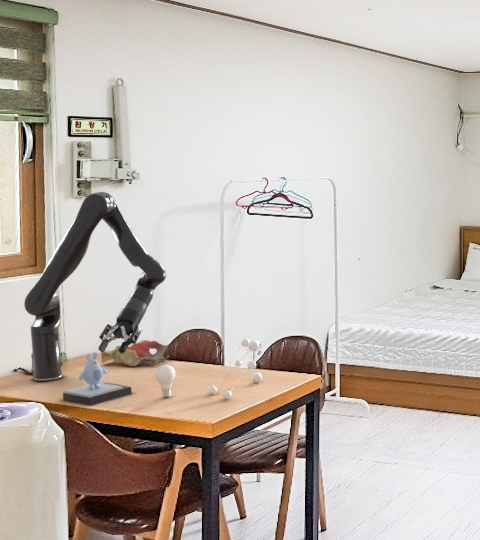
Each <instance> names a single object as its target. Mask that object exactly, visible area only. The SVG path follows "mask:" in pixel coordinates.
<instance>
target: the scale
mask: <svg viewBox="0 0 480 540" xmlns="http://www.w3.org/2000/svg"><path fill="white" fill-rule="evenodd" d="M97 384H99V385H100V388H95V389H92V390H90V389H89V388H88V387H89V386H90V384H85V385H82V386H77V387H73V388H69V389H65V390H63V393H62V399H63V401H66V402H72V403H78V404H83V405H88V406H92V405H95V404H100V403H103V402H106V401H109V400H113V399H114V400H115V399H119V398H121V397H125V396H128V395H132V393H133V392H132V386H128V385H122V384H117V383H112V382H111V383H109V382H99V383H97ZM93 386H94V384H93Z"/></svg>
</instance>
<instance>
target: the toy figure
mask: <svg viewBox="0 0 480 540" xmlns="http://www.w3.org/2000/svg"><path fill="white" fill-rule="evenodd" d="M97 358H98V354H97V353H96V352H93V354H92V357H91V354H90V353H87V354H86V359H87V361H86V362H85V365H84V367H83V372H81V373H80V374H79V376H78V381H82V380H84V381H85V383H87V385H89V384H90V386H89V387H88V388H89V389H90V390H92V389H95V388H100V385H99V384H97V383H101V382H100V381H102V380H103V377H104V375H107V374H108V371H107V369H106V368H104V367H102V366H101V365H100V363H99V361H98V360H97ZM93 384H94V386H93Z"/></svg>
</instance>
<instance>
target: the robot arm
mask: <svg viewBox="0 0 480 540" xmlns="http://www.w3.org/2000/svg"><path fill="white" fill-rule="evenodd" d="M102 220H103V221H104V223H106V225H107V226H108V228H109V229H110V230H111V231H112V234H113V236H114V238H115V241H116V243H117V246H118V248H119V249H120V251H121V252H122V254H123V255H124V257H125V258H126V260H127V261H128V262H129V263H130V265H131V266H132V267H135V268H139V269H140V270H142V271H143V272H142V273H141V274H140V276H139V278H138V279H137V281H136V285H135V287H134V289H133V291H132V292H131V294H130V296H129V298H128V299H127V300H126V302H125V303H124V304H123V307H122V308H121V310H120V311H119V314H118V315H117V317H116V319H115V320H116V323H115V324H114V325H111V324H109V323H107V324H106V326H105V327H104V328H103V330H102V332H101V333H100V335H99V336H98V338H99V339H100V340H101V342H100V344H99V346H98V351H100V353H101V352H104V351H105V350H106V349H107V348H108V346H109V344H110V343H111V342H112V341H115V340H117V339H122V340H123V341H122V343H121V344H120V345H119V346H120V348H119V350H118V351H119V352H120V353H121V354H123V353H124V352H125V351H126V349H127V348H128V347H130V346H131V345H133V344H135V343H138V342H137V341H138V340H139V338H140V335H141V333H142V331H143V330H142V329H141V327H140V324H141V322H142V320H143V318H144V317H145V315H146V312H147V310H148V307H150V304H151V302H152V300H153V297H154V291H155V290H156V288H158V286H159V285H161V284H163V283H164V282H165V280H166V278H167V273H166V269H165V268H164V267H163V266H162V264H161V263H160V262H159V261H158V260H156V259H155V258H154V257H153V256H152V255H150V253H149V252H148V251H147V249H146V248H145V247H144V246H143V244H142V243H141V241H140V240H139V239H138V237H137V236H136V235H135V233H134V232H133V230H132V229H131V227H130V226H129V224H128V222H127V221H126V219H125V217H124V216H123V213H122V212H121V210H120V207H119V205H118V204H117V202H116V200H115V198H114V196H113V195H111V194H110V193H109V192H106V191H96V192H93V193H90V194H88V195H87V196H85V197H84V199H83V201H82V203H81V205H80V208H79V209H78V212H77V214H76V216H75V218H74V221H73V223H72V224H71V226H70V227H69V228H68V230H67V232H66V233H65V235H64V236H63V238H62V239H61V241H60V242H59V244H58V245H57V247H56V249H55V251H54V253H53V254H52V257H51V258H50V259H49V261H48V263H47V265H46V267H45V268H44V271H43V272H42V273H41V276H40V277H39V278H38V280H37V281H36V283H35V284H34V285H33V287H32V288H31V289H30V290H29V292H28V293H27V294H26V296H25V298H24V303H23V304H24V310H25V311H26V313H28V314H29V315H30V316H34V321H33V323H32V324H31V326H30V338H31V339H30V340H31V351H32V352H31V371H28V369H26V368H23V367H20V366H19V368H18V369H15V368H14V369H13V372H17V371H22V372H25V374H27V375H29V376H32V378H33V381H36V382H49V381H55V380H60V379H62V378H63V369H62V368H63V367H62V366H63V361H62V354H61V340H60V325H61V300H60V296H59V294H58V293H57V291H58V290H59V288H60V287H61V285H62V284H63V283H64V282H65V281H67V279H68V278H70V276H71V275H73V273H74V272H75V271H76V270H77V268H78V267H79V265H80V264H81V262H82V261H83V259H84V258H85V255H86V254H87V252H88V249H89V245H90V240H91V237H92V235H93V232H94V231H95V229H96V228H97V226H98V225H99V223H100V222H101V221H102Z"/></svg>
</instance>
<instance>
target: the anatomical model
mask: <svg viewBox="0 0 480 540" xmlns="http://www.w3.org/2000/svg"><path fill="white" fill-rule="evenodd" d="M120 346H121V345H116V346H115V348H114V349H112V350H106V349H105V351H104V352H101V351H100V354H101V356H100V357H101V363H102V364H104V363H106V362H108V361H111V360H113V362H115V363H116V364H117V363H118V364H125V365H128V366H130V367H137V366H139V365H140V364H142V362H150V363H153V364H156V363H158V362H159V361H160V362H164V361H165V360H166V359H169V357H170V355H169V354H167V355H166V356H164V354H165V352H166V351H167V349H168V348H169V344H161V343H159V342H158V341H156V340H149V339H141V340H140V341H138V342H136V343H135V344H133V343H132V344H130V345H129V346H128V348H127V349H126V351H125V352H124V353H123V354H121V353H120V352H119V351H118V350H119V348H120ZM153 349H154V350H156V352H155V353H152V352H150V351H151V350H153Z"/></svg>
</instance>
